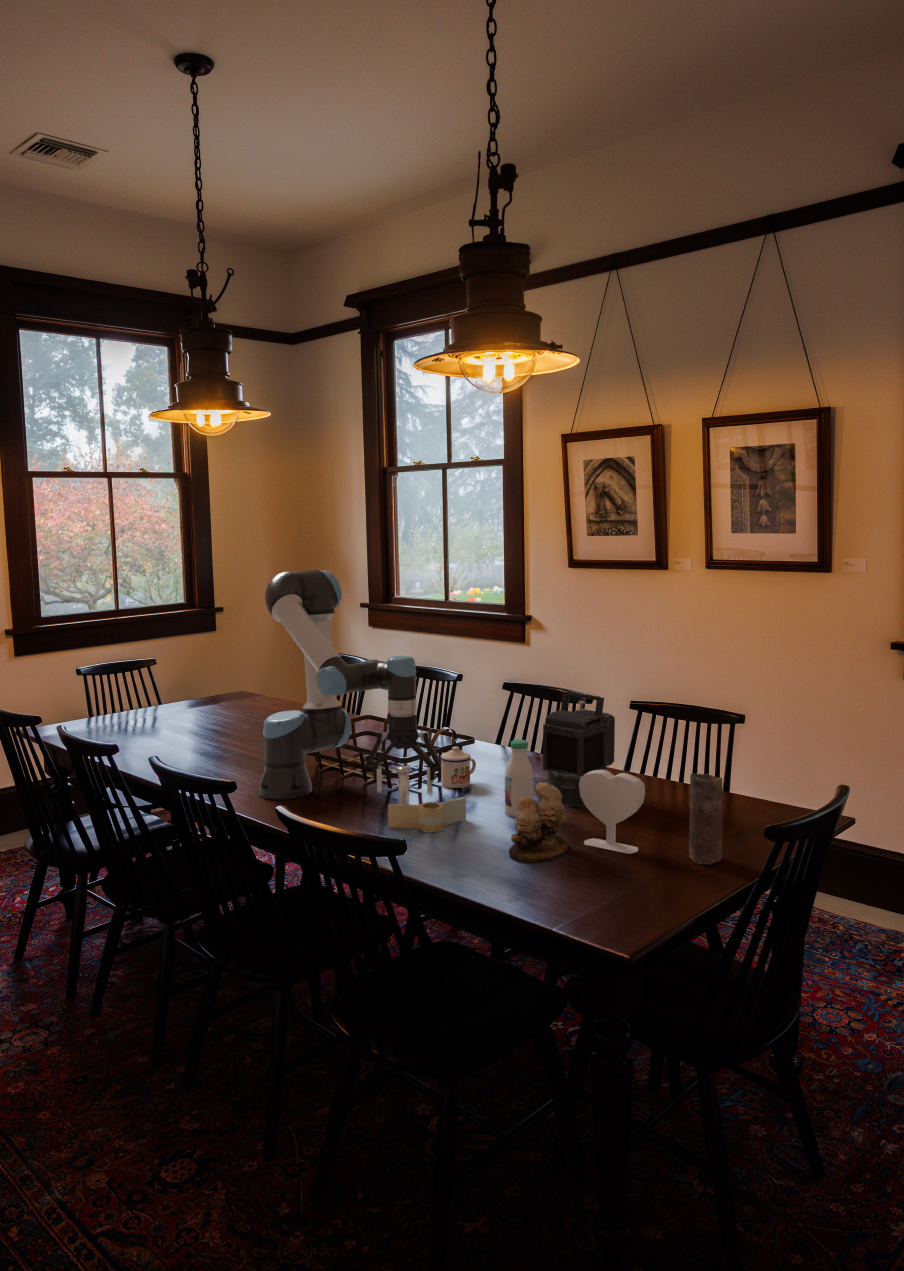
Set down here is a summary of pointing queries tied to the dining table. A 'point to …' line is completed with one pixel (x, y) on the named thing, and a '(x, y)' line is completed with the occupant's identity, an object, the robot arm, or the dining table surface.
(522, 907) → the dining table surface
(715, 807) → the dark stone pillar
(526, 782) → the milk bottle
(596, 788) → the heart sculpture
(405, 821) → the brass leaf
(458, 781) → the teacup with lid
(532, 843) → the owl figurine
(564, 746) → the lantern
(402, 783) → the hinge pin
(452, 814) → the pale green hinge leaf
